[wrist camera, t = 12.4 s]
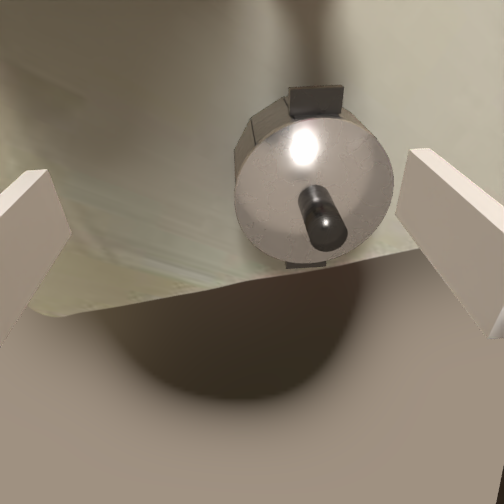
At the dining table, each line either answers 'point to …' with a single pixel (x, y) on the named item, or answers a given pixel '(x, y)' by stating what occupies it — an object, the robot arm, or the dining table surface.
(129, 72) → the dining table surface
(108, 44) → the dining table surface
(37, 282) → the robot arm
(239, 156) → the pot
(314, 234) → the lid
